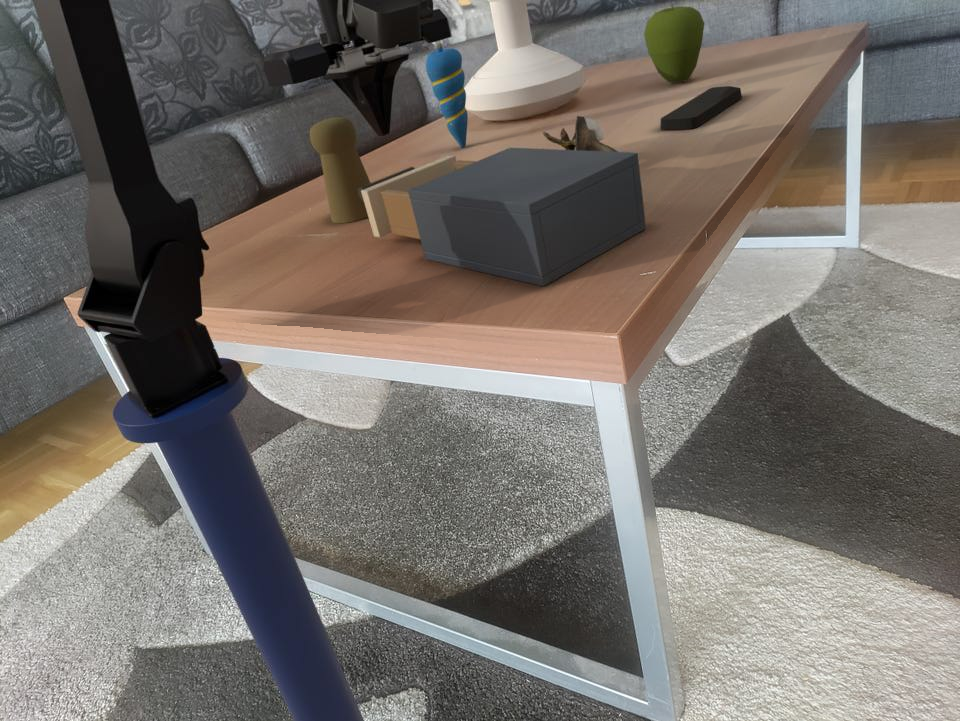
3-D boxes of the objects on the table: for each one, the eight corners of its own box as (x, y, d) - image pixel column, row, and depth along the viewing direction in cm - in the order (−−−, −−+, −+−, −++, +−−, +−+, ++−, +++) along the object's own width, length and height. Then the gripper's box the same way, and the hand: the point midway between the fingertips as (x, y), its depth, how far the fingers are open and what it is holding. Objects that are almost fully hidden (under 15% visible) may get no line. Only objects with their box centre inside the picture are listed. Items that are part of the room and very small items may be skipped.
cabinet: (425, 259, 70) (407, 190, 67) (522, 212, 76) (510, 147, 73) (543, 286, 58) (528, 204, 55) (646, 228, 65) (637, 152, 62)
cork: (348, 225, 85) (318, 127, 80) (322, 220, 90) (292, 127, 85) (390, 207, 88) (365, 111, 83) (363, 203, 93) (337, 112, 88)
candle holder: (563, 121, 111) (540, -24, 102) (446, 134, 120) (416, 4, 111) (604, 89, 126) (588, -39, 117) (497, 104, 135) (474, -13, 126)
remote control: (695, 133, 91) (744, 96, 100) (694, 118, 90) (743, 82, 99) (658, 134, 94) (708, 98, 103) (656, 120, 93) (707, 85, 102)
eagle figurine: (532, 167, 86) (565, 164, 78) (550, 105, 85) (585, 95, 77) (589, 187, 89) (627, 186, 80) (607, 127, 88) (647, 120, 79)
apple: (639, 90, 119) (631, 12, 114) (670, 77, 123) (664, 1, 118) (686, 88, 113) (680, 5, 107) (717, 74, 117) (713, -7, 112)
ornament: (487, 142, 109) (464, 31, 102) (462, 153, 106) (437, 40, 99) (462, 142, 112) (438, 35, 105) (437, 153, 109) (412, 44, 102)
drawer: (349, 231, 80) (336, 187, 78) (432, 195, 86) (422, 153, 83) (463, 255, 66) (450, 202, 63) (553, 210, 71) (545, 160, 69)
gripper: (292, -27, 59) (349, 167, 67) (468, -65, 69) (502, 109, 76) (235, -9, 68) (291, 162, 75) (400, -46, 77) (436, 110, 84)
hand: (384, 135), depth 77 cm, fingers closed
